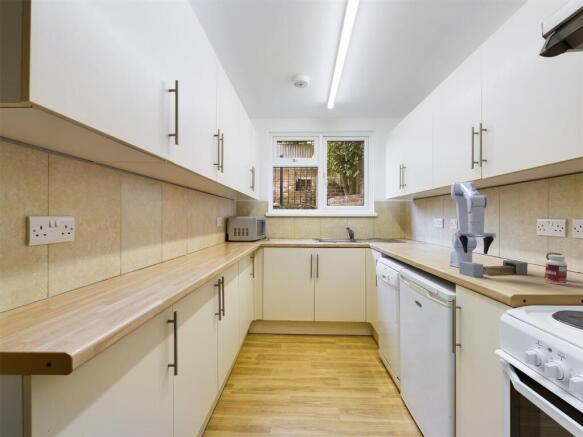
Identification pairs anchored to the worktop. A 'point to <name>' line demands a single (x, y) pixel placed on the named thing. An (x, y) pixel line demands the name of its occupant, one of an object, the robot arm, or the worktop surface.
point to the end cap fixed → (517, 266)
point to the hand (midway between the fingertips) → (475, 253)
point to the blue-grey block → (471, 269)
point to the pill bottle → (556, 270)
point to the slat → (499, 270)
